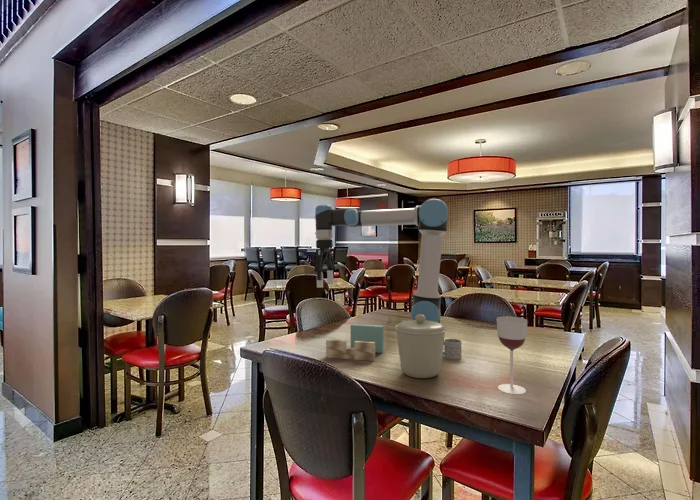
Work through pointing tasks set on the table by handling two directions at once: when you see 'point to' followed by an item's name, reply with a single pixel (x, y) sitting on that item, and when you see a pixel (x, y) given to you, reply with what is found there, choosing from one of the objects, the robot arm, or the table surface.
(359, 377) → the table surface
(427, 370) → the canister
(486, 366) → the table surface
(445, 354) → the mug
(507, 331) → the wineglass
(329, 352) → the birch notched board
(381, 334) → the teal slotted plate
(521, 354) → the table surface
